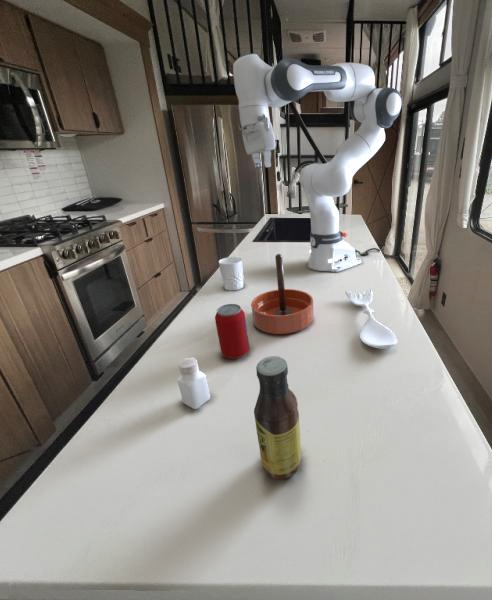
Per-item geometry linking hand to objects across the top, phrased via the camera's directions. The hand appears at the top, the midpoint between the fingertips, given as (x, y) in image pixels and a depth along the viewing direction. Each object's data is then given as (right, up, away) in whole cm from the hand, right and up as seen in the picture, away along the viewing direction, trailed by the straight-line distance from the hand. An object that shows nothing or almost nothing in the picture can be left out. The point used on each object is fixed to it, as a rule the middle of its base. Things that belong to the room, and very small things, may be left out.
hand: (263, 168), depth 104 cm
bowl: (+8, -48, -11) cm, 50 cm away
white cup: (-12, -38, +12) cm, 42 cm away
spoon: (+32, -49, -12) cm, 60 cm away
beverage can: (-2, -55, -25) cm, 61 cm away
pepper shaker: (-6, -63, -39) cm, 74 cm away
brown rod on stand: (+8, -47, -11) cm, 49 cm away
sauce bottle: (+12, -69, -53) cm, 87 cm away
